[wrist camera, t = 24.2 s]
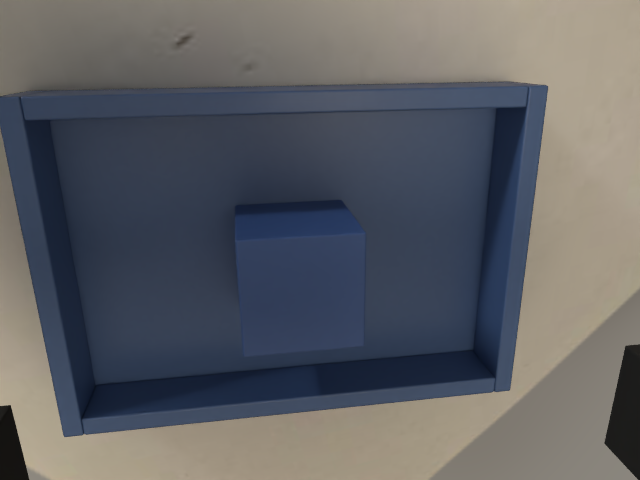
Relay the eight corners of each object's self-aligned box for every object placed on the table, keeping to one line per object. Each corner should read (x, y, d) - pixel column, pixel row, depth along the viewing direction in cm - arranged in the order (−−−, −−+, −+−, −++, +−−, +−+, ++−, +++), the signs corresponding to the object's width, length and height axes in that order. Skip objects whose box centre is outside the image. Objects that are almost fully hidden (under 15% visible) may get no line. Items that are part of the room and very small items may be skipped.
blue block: (241, 303, 24) (242, 358, 20) (234, 204, 22) (234, 240, 18) (342, 296, 25) (365, 347, 20) (342, 199, 23) (367, 232, 19)
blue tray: (83, 393, 25) (63, 438, 22) (27, 90, 20) (-7, 96, 18) (481, 355, 28) (510, 391, 25) (509, 81, 23) (549, 85, 20)
